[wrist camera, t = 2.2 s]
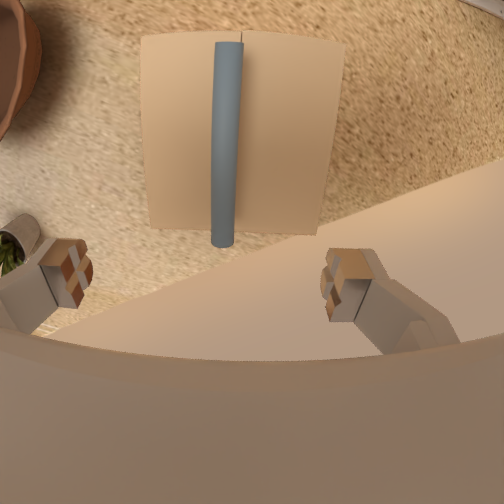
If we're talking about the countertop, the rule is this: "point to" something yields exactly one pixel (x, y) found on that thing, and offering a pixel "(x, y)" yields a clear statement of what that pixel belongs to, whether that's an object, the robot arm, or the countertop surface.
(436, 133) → the countertop surface
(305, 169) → the carton
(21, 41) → the bowl
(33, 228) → the house plant
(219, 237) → the flap
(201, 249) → the countertop surface
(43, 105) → the countertop surface
